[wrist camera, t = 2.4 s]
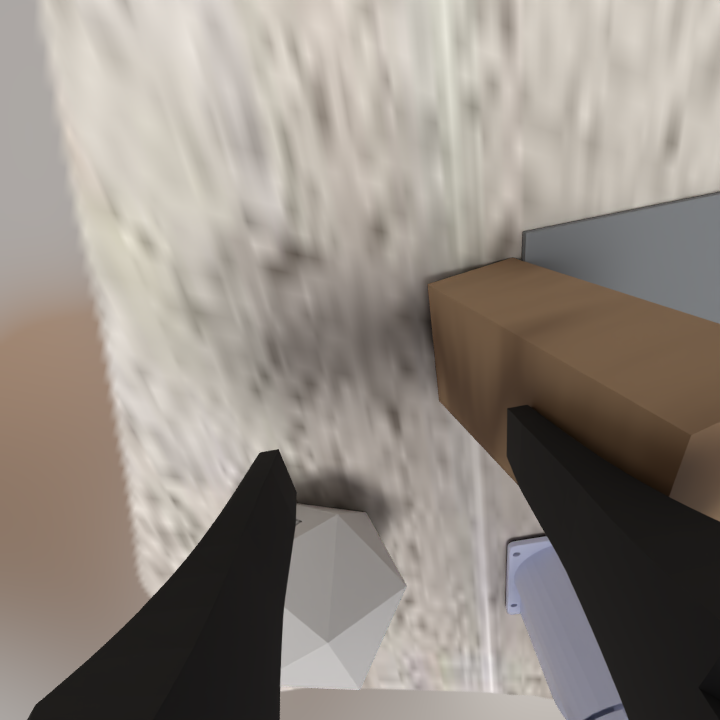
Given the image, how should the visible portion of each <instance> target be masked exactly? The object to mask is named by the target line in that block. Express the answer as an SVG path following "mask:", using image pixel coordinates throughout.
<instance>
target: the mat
mask: <svg viewBox="0 0 720 720" xmlns="http://www.w3.org/2000/svg"><path fill="white" fill-rule="evenodd" d="M522 261H525V262H528V263H531V264H534V265H537V266H540V267H543V268H546V269H550V270H553V271H556V272H559V273H562V274H565V275H568V276H572V277H575V278H578V279H581V280H584V281H587V282H590V283H593V284H597V285H600V286H603V287H606V288H609V289H612V290H615V291H619V292H622V293H625V294H628V295H631V296H634V297H637V298H640V299H644V300H647V301H650V302H653V303H656V304H659V305H662V306H666V307H669V308H672V309H675V310H678V311H681V312H684V313H687V314H691V315H694V316H697V317H700V318H703V319H706V320H709V321H713V322H716V323H719V324H720V192H717V193H712V194H707V195H702V196H698V197H693V198H688V199H683V200H678V201H673V202H668V203H663V204H658V205H653V206H648V207H643V208H638V209H633V210H628V211H623V212H618V213H613V214H608V215H604V216H599V217H594V218H589V219H584V220H579V221H574V222H569V223H564V224H559V225H554V226H549V227H544V228H539V229H534V230H529V231H524V232H523V244H522Z"/></svg>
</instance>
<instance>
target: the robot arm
mask: <svg viewBox="0 0 720 720" xmlns="http://www.w3.org/2000/svg"><path fill="white" fill-rule="evenodd" d="M506 456H507V459H508V461H509V464H510V466H511V469H512V471H513V473H514V476H515V478H516V480H517V483H518V485H519V487H520V489H521V491H522V493H523V495H524V496H525V498H526V500H527V502H528V504H529V505H530V507H531V509H532V511H533V513H534V514H535V516H536V518H537V520H538V521H539V523H540V525H541V527H542V528H543V530H544V532H545V534H546V536H544V537H538V538H531V539H525V540H519V541H513V542H511V543H509V544H508V547H507V582H506V610H507V613H508V614H511V615H512V614H520V613H521V616H522V618H523V621H524V623H525V626H526V629H527V631H528V634H529V636H530V639H531V642H532V644H533V647H534V650H535V652H536V655H537V657H538V660H539V663H540V665H541V668H542V671H543V673H544V676H545V678H546V681H547V684H548V686H549V689H550V691H551V694H552V697H553V699H554V701H555V703H556V705H557V707H558V708H559V710H560V711H561V713H562V715H563V716H564V717H565V719H566V720H720V521H718V520H715V519H713V518H711V517H709V516H707V515H705V514H703V513H701V512H699V511H696V510H694V509H692V508H690V507H688V506H686V505H684V504H682V503H680V502H678V501H676V500H674V499H672V498H670V497H668V496H666V495H665V494H663V493H661V492H659V491H657V490H655V489H654V488H652V487H650V486H648V485H646V484H644V483H643V482H641V481H639V480H637V479H636V478H634V477H632V476H630V475H629V474H627V473H625V472H624V471H622V470H621V469H619V468H617V467H616V466H614V465H612V464H611V463H609V462H608V461H606V460H604V459H603V458H601V457H600V456H598V455H597V454H595V453H594V452H592V451H591V450H590V449H588V448H587V447H585V446H584V445H582V444H581V443H579V442H578V441H576V440H575V439H574V438H572V437H571V436H569V435H568V434H567V433H565V432H564V431H562V430H561V429H560V428H558V427H557V426H556V425H554V424H553V423H552V422H550V421H549V420H548V419H546V418H545V417H544V416H542V415H541V414H540V413H538V412H537V411H536V410H534V409H533V408H531V407H530V406H529V405H523V406H517V407H511V408H507V455H506ZM296 493H297V492H296V490H295V487H294V485H293V483H292V480H291V478H290V476H289V473H288V471H287V468H286V466H285V464H284V461H283V459H282V456H281V454H280V452H279V449H277V450H272V451H266V452H261V453H259V455H258V456H257V458H256V459H255V461H254V462H253V464H252V465H251V467H250V469H249V470H248V472H247V473H246V475H245V477H244V478H243V480H242V481H241V483H240V484H239V486H238V488H237V489H236V491H235V492H234V494H233V495H232V497H231V498H230V500H229V501H228V503H227V504H226V506H225V507H224V509H223V510H222V512H221V513H220V515H219V516H218V517H217V519H216V520H215V522H214V523H213V524H212V526H211V527H210V528H209V530H208V531H207V533H206V534H205V535H204V537H203V538H202V539H201V541H200V542H199V543H198V545H197V546H196V547H195V549H194V550H193V551H192V552H191V554H190V555H189V556H188V557H187V559H186V560H185V561H184V562H183V563H182V565H181V566H180V567H179V568H178V569H177V570H176V572H175V573H174V574H173V575H172V576H171V577H170V579H169V580H168V581H167V582H166V583H165V584H164V585H163V586H162V587H161V588H160V589H159V590H158V592H157V593H156V594H155V595H154V596H153V597H152V598H151V599H150V600H149V601H148V602H147V603H146V604H145V605H144V606H143V608H142V609H141V610H140V611H139V612H138V613H137V614H136V615H135V616H134V617H133V618H132V619H131V620H130V621H129V622H128V623H127V624H126V625H125V626H124V627H123V628H122V629H121V630H120V631H119V632H118V633H117V634H115V635H114V636H113V637H112V638H111V639H110V640H109V641H108V642H107V643H106V644H105V645H104V646H103V647H102V648H101V649H99V650H98V651H97V652H96V653H95V654H94V655H93V656H92V657H91V658H90V659H89V660H87V661H86V662H85V663H84V664H83V665H82V666H80V667H79V668H78V669H77V670H76V671H75V672H74V673H72V674H71V675H70V676H69V677H68V678H67V679H66V680H64V681H63V682H62V683H61V684H60V685H58V686H57V687H56V688H55V689H54V690H53V691H52V692H50V693H49V694H48V695H47V696H46V697H45V698H43V699H42V700H41V701H40V702H38V703H37V704H36V705H35V707H34V709H33V710H32V712H31V714H30V716H29V718H28V719H27V720H279V719H280V678H281V651H282V632H283V615H284V605H285V596H286V590H287V583H288V576H289V569H290V562H291V555H292V548H293V541H294V534H295V526H296Z"/></svg>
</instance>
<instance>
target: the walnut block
mask: <svg viewBox="0 0 720 720" xmlns="http://www.w3.org/2000/svg"><path fill="white" fill-rule="evenodd" d="M428 293H429V304H430V314H431V324H432V334H433V344H434V354H435V364H436V374H437V384H438V394H439V401H440V402H441V403H442V404H443V405H444V407H445V408H446V409H447V410H448V411H449V412H450V413H451V414H452V415H453V416H454V417H455V418H456V419H457V420H458V421H459V423H460V424H461V425H462V426H463V427H464V428H465V429H466V430H467V431H468V432H469V433H470V434H471V435H472V436H473V437H474V439H475V440H476V441H477V442H478V443H479V444H480V445H481V446H482V447H483V448H484V449H485V450H486V451H487V452H488V453H489V454H490V456H491V457H492V458H493V459H494V460H495V461H496V462H497V463H498V464H499V465H500V466H501V467H502V468H503V469H504V470H505V472H506V473H507V474H508V475H509V476H510V477H511V478H512V479H513V480H514V481H515V482H516V483H517V480H516V478H515V476H514V473H513V471H512V469H511V466H510V464H509V461H508V459H507V456H506V455H507V408H511V407H517V406H523V405H529V406H530V407H531V408H533V409H534V410H536V411H537V412H538V413H540V414H541V415H542V416H544V417H545V418H546V419H548V420H549V421H550V422H552V423H553V424H554V425H556V426H557V427H558V428H560V429H561V430H562V431H564V432H565V433H567V434H568V435H569V436H571V437H572V438H574V439H575V440H576V441H578V442H579V443H581V444H582V445H584V446H585V447H587V448H588V449H590V450H591V451H592V452H594V453H595V454H597V455H598V456H600V457H601V458H603V459H604V460H606V461H608V462H609V463H611V464H612V465H614V466H616V467H617V468H619V469H621V470H622V471H624V472H625V473H627V474H629V475H630V476H632V477H634V478H636V479H637V480H639V481H641V482H643V483H644V484H646V485H648V486H650V487H652V488H654V489H655V490H657V491H659V492H661V493H663V494H665V495H666V496H668V497H670V498H672V499H674V500H676V501H678V502H680V503H682V504H684V505H686V506H688V507H690V508H692V509H694V510H696V511H699V512H701V513H703V514H705V515H707V516H709V517H711V518H713V519H715V520H718V521H720V324H719V323H716V322H713V321H709V320H706V319H703V318H700V317H697V316H694V315H691V314H687V313H684V312H681V311H678V310H675V309H672V308H669V307H666V306H662V305H659V304H656V303H653V302H650V301H647V300H644V299H640V298H637V297H634V296H631V295H628V294H625V293H622V292H619V291H615V290H612V289H609V288H606V287H603V286H600V285H597V284H593V283H590V282H587V281H584V280H581V279H578V278H575V277H572V276H568V275H565V274H562V273H559V272H556V271H553V270H550V269H546V268H543V267H540V266H537V265H534V264H531V263H528V262H525V261H521V260H518V259H515V258H509V259H506V260H503V261H500V262H496V263H493V264H490V265H487V266H484V267H481V268H477V269H474V270H471V271H468V272H465V273H462V274H458V275H455V276H452V277H449V278H446V279H443V280H439V281H436V282H433V283H430V284H428ZM517 484H518V483H517Z"/></svg>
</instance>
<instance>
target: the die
mask: <svg viewBox="0 0 720 720" xmlns="http://www.w3.org/2000/svg"><path fill="white" fill-rule="evenodd" d="M406 587H407V585H406V583H405V582H404V580H403V578H402V576H401V574H400V573H399V571H398V569H397V567H396V565H395V564H394V562H393V560H392V558H391V556H390V555H389V553H388V551H387V549H386V547H385V546H384V544H383V542H382V540H381V538H380V537H379V535H378V533H377V531H376V529H375V528H374V526H373V524H372V522H371V520H370V519H369V517H368V515H367V513H366V512H361V511H353V510H345V509H337V508H330V507H322V506H314V505H307V504H299V503H296V526H295V534H294V541H293V548H292V555H291V562H290V569H289V576H288V583H287V590H286V596H285V605H284V615H283V632H282V651H281V678H280V686H282V687H304V688H327V689H350V690H360V689H361V687H362V685H363V682H364V680H365V678H366V676H367V673H368V671H369V669H370V667H371V665H372V662H373V660H374V658H375V656H376V653H377V651H378V649H379V647H380V645H381V642H382V640H383V638H384V636H385V633H386V631H387V629H388V627H389V625H390V622H391V620H392V618H393V616H394V613H395V611H396V609H397V607H398V605H399V602H400V600H401V598H402V596H403V593H404V591H405V589H406Z"/></svg>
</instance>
